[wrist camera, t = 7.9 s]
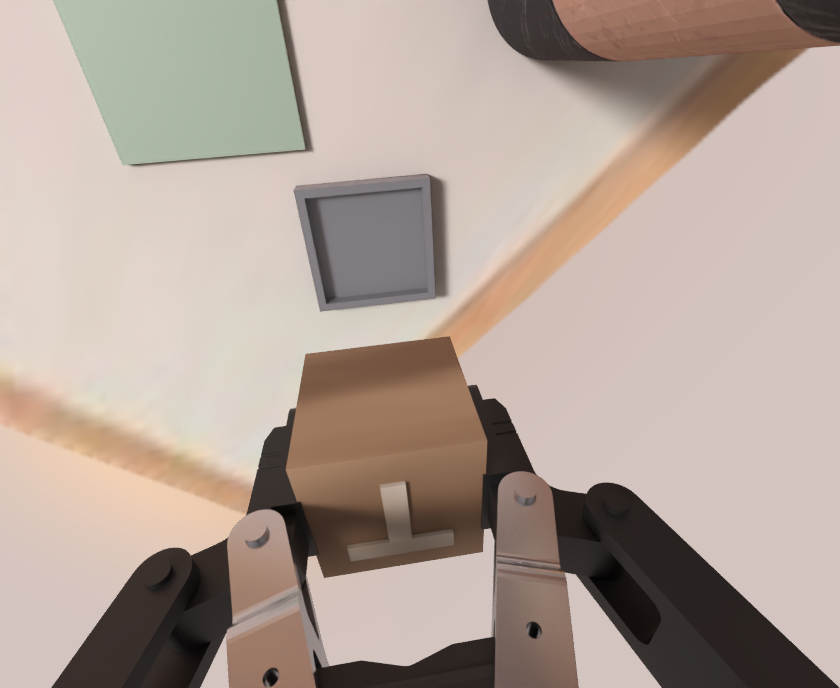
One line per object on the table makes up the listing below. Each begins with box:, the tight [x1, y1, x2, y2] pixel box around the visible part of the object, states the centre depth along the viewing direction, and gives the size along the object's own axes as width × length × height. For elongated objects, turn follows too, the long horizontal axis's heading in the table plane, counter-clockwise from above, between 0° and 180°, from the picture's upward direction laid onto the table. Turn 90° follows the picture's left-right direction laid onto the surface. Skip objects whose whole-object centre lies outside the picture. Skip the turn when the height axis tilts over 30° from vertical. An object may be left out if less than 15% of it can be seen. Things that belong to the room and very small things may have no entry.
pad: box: [53, 0, 306, 165], centre depth 21 cm, size 10×10×1 cm
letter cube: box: [286, 336, 487, 578], centre depth 12 cm, size 5×4×5 cm
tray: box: [294, 174, 435, 312], centre depth 27 cm, size 8×8×1 cm
